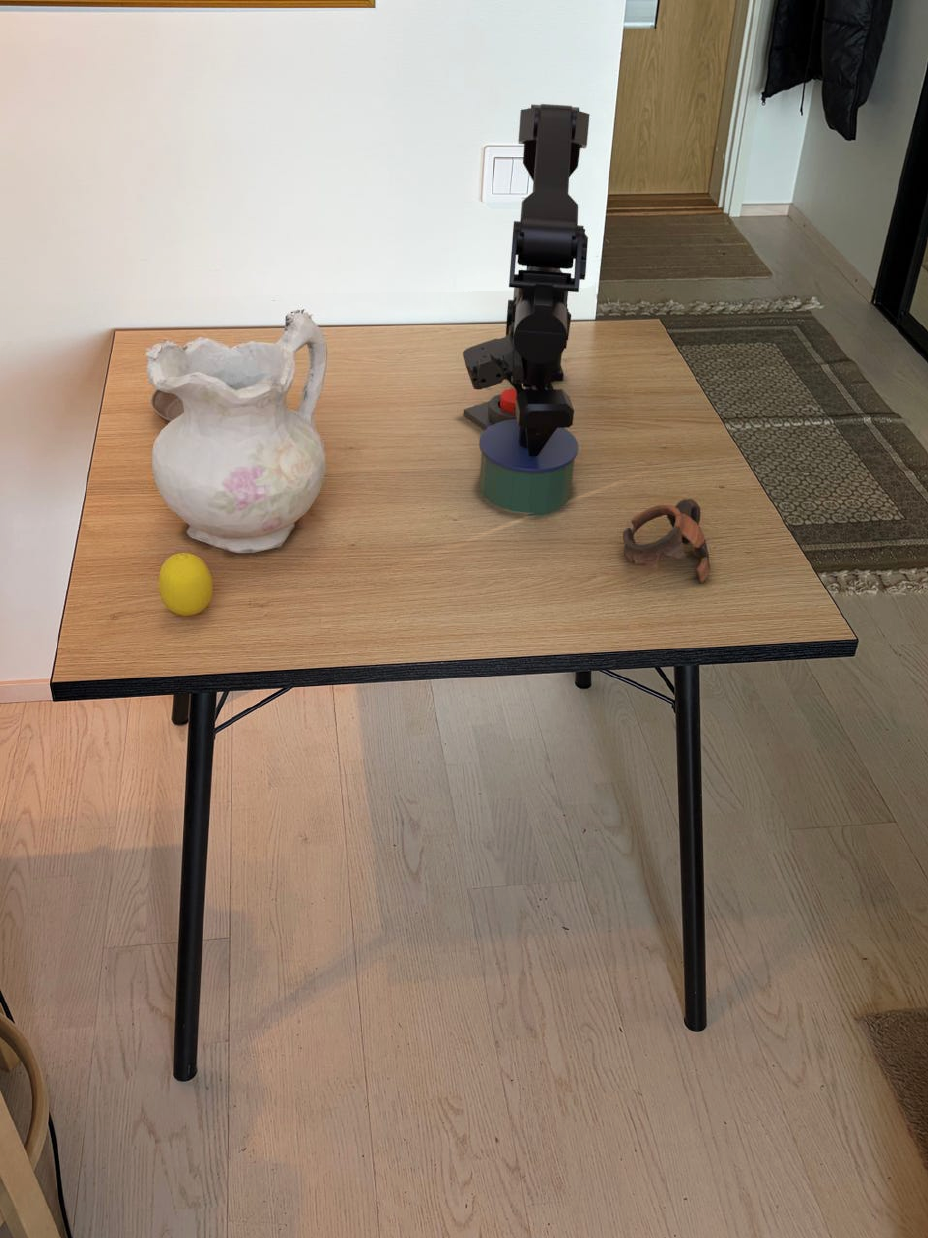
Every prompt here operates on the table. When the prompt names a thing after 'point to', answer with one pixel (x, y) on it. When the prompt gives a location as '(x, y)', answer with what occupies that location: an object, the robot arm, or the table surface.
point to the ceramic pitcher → (240, 436)
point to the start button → (508, 400)
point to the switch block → (488, 413)
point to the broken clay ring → (669, 536)
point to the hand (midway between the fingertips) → (529, 442)
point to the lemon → (185, 584)
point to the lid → (526, 448)
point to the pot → (526, 488)
